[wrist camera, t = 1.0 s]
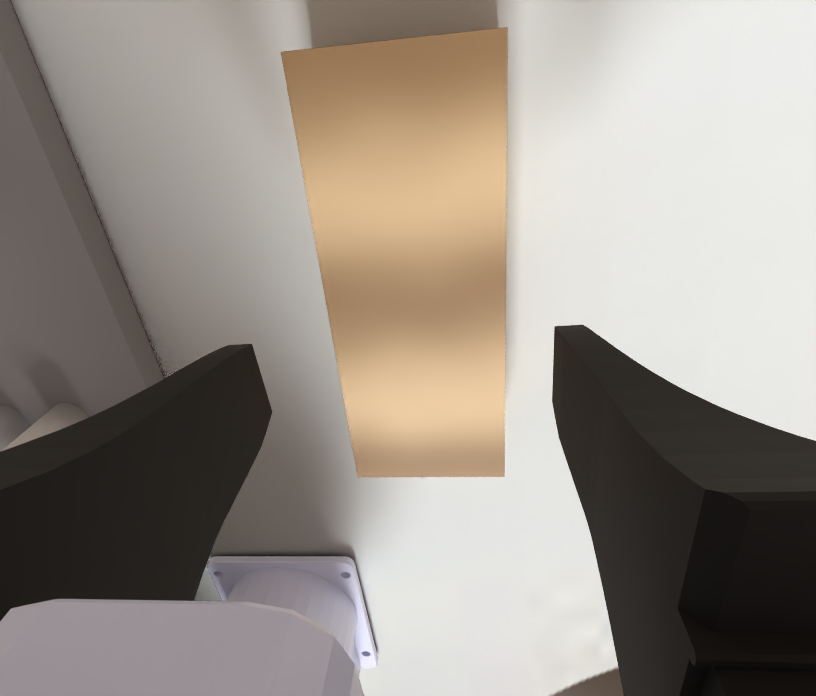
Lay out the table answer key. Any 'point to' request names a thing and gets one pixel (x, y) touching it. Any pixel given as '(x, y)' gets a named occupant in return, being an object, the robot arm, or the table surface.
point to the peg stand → (55, 271)
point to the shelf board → (411, 242)
